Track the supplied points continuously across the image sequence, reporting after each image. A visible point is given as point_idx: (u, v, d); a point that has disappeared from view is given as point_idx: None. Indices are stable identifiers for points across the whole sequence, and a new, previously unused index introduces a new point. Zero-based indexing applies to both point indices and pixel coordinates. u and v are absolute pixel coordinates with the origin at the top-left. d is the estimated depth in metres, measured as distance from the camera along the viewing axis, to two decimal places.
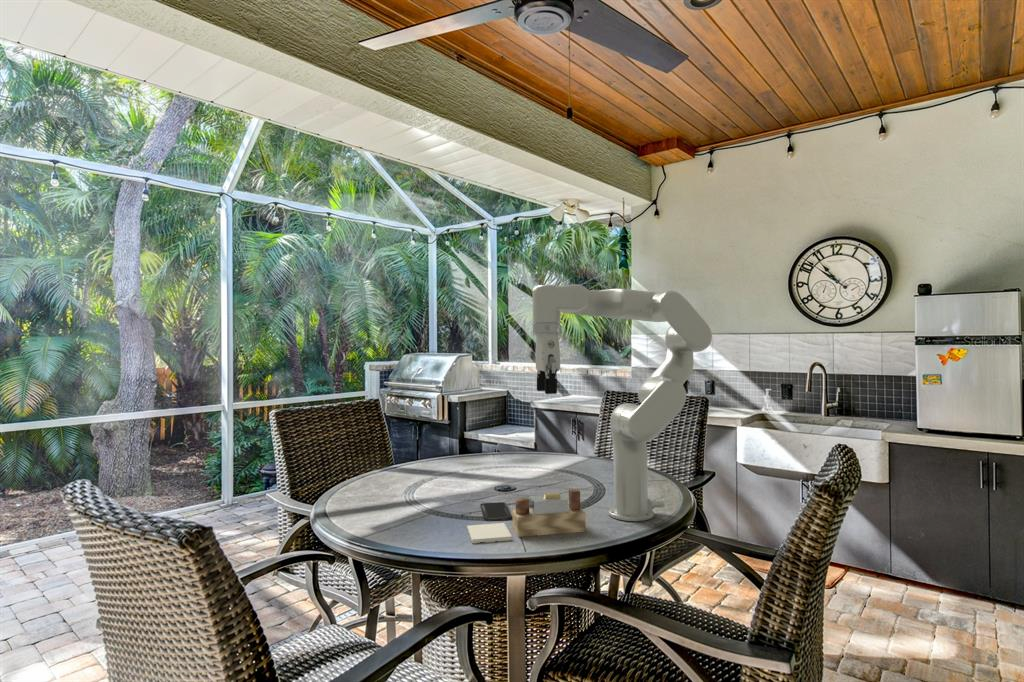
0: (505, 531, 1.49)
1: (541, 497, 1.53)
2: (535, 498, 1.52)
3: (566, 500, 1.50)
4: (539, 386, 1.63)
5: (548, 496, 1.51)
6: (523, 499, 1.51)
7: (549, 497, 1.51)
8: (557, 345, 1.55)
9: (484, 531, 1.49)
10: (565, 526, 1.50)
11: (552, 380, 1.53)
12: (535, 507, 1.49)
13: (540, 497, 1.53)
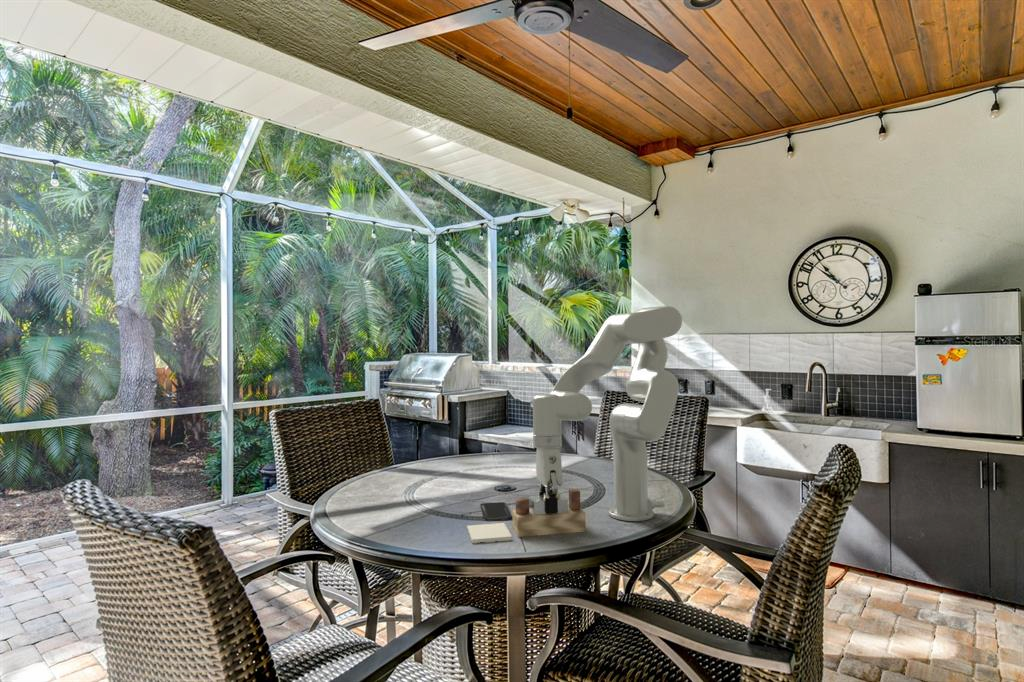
0: (505, 531, 1.49)
1: (541, 497, 1.53)
2: (535, 498, 1.52)
3: (566, 500, 1.50)
4: None
5: None
6: (523, 499, 1.51)
7: None
8: (559, 460, 1.48)
9: (484, 531, 1.49)
10: (565, 526, 1.50)
11: (552, 500, 1.48)
12: (535, 507, 1.49)
13: (540, 497, 1.53)
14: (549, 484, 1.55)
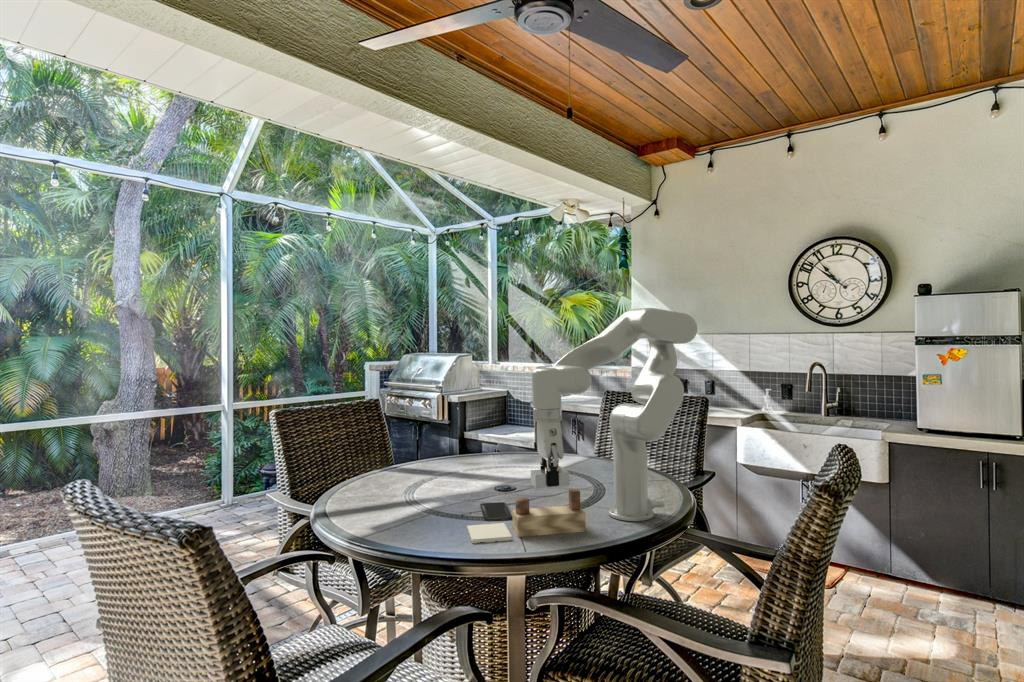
0: (505, 531, 1.49)
1: (542, 471, 1.53)
2: (536, 472, 1.52)
3: (567, 473, 1.51)
4: None
5: None
6: (523, 499, 1.51)
7: None
8: (559, 433, 1.48)
9: (484, 531, 1.49)
10: (565, 526, 1.50)
11: (554, 472, 1.49)
12: (536, 480, 1.49)
13: (541, 471, 1.53)
14: (550, 458, 1.55)
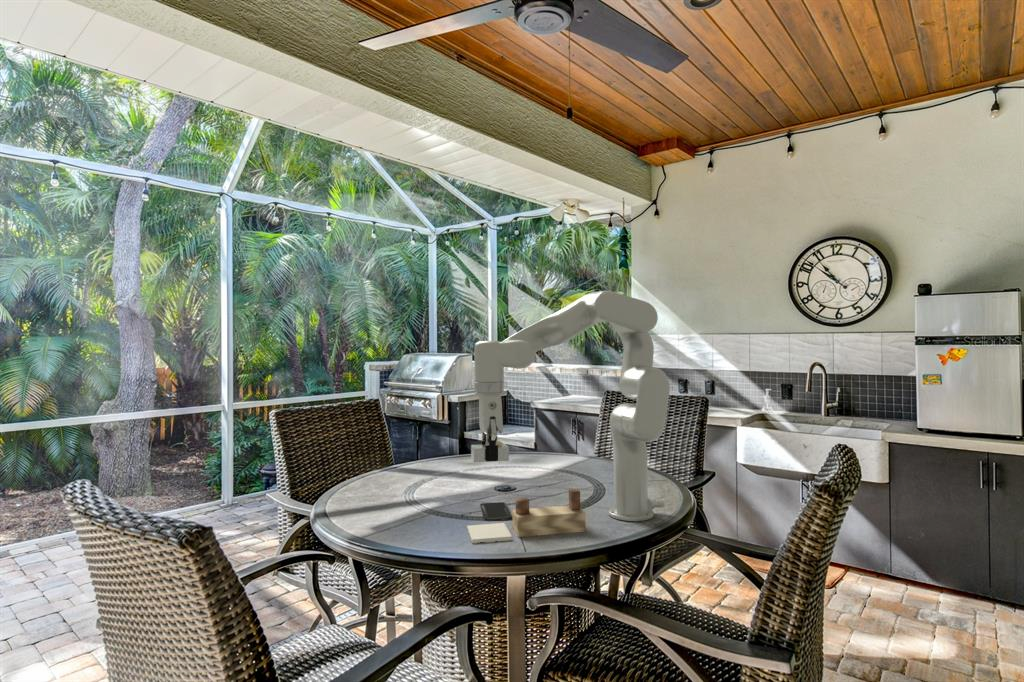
0: (505, 531, 1.49)
1: (482, 445, 1.50)
2: (476, 446, 1.49)
3: (507, 448, 1.47)
4: None
5: None
6: (523, 499, 1.51)
7: None
8: (499, 406, 1.45)
9: (484, 531, 1.49)
10: (565, 526, 1.50)
11: (492, 447, 1.45)
12: (475, 454, 1.46)
13: (481, 445, 1.50)
14: None
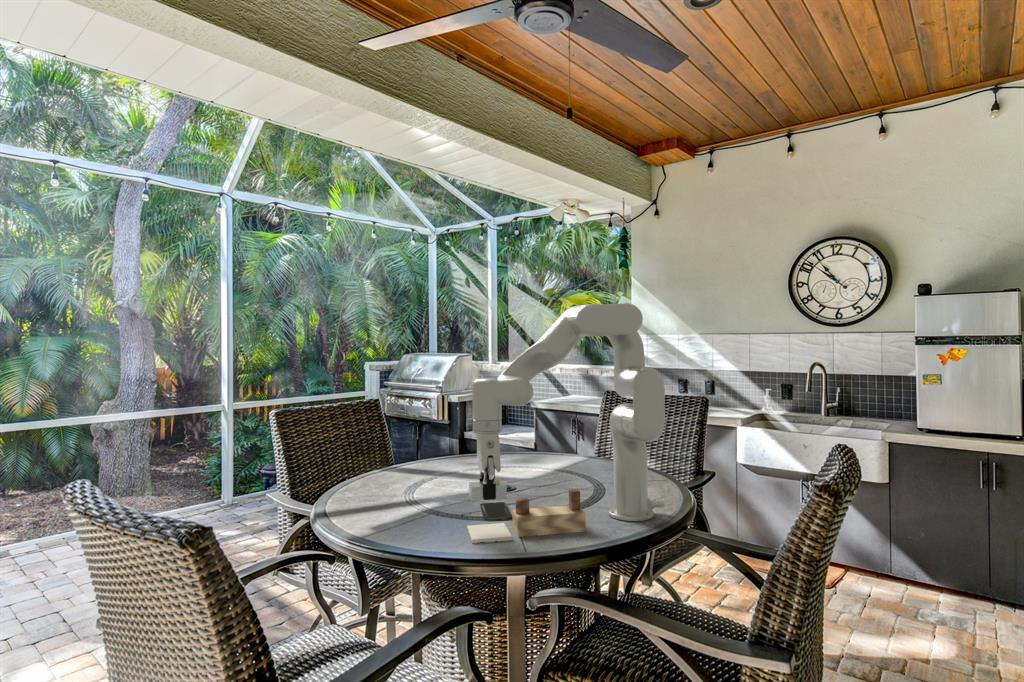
0: (505, 531, 1.49)
1: (480, 483, 1.49)
2: (474, 484, 1.49)
3: (505, 486, 1.47)
4: None
5: None
6: (523, 499, 1.51)
7: None
8: (497, 445, 1.45)
9: (484, 531, 1.49)
10: (565, 526, 1.50)
11: (490, 486, 1.45)
12: (472, 493, 1.46)
13: (479, 483, 1.49)
14: None
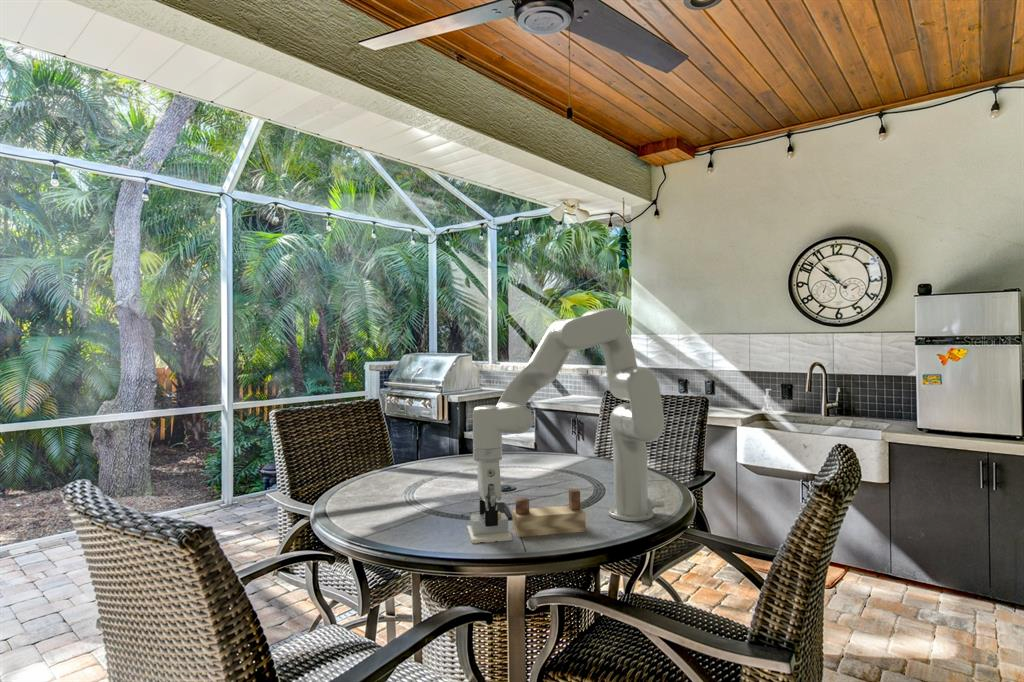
0: None
1: (482, 516, 1.50)
2: (475, 518, 1.49)
3: (506, 520, 1.47)
4: (482, 510, 1.53)
5: None
6: (523, 499, 1.51)
7: None
8: (498, 473, 1.45)
9: None
10: (565, 526, 1.50)
11: (492, 512, 1.44)
12: (474, 527, 1.46)
13: (481, 516, 1.50)
14: None
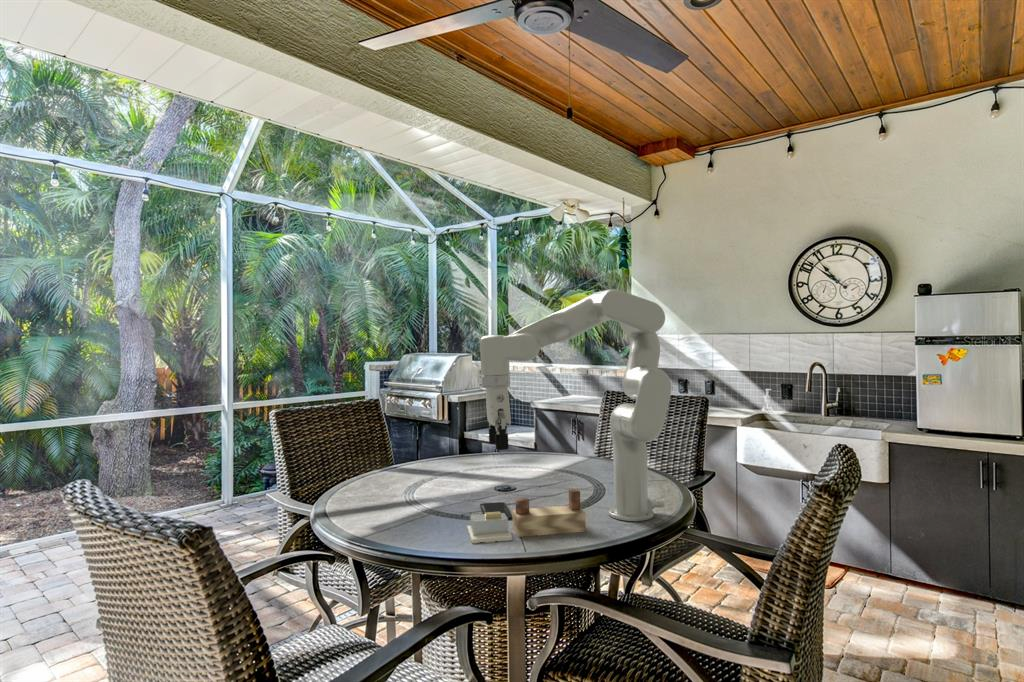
0: None
1: (482, 516, 1.50)
2: (475, 518, 1.49)
3: (506, 520, 1.47)
4: (491, 438, 1.57)
5: (488, 516, 1.48)
6: (523, 499, 1.51)
7: (489, 517, 1.48)
8: (507, 398, 1.49)
9: None
10: (565, 526, 1.50)
11: (503, 436, 1.47)
12: (474, 527, 1.46)
13: (481, 516, 1.50)
14: None
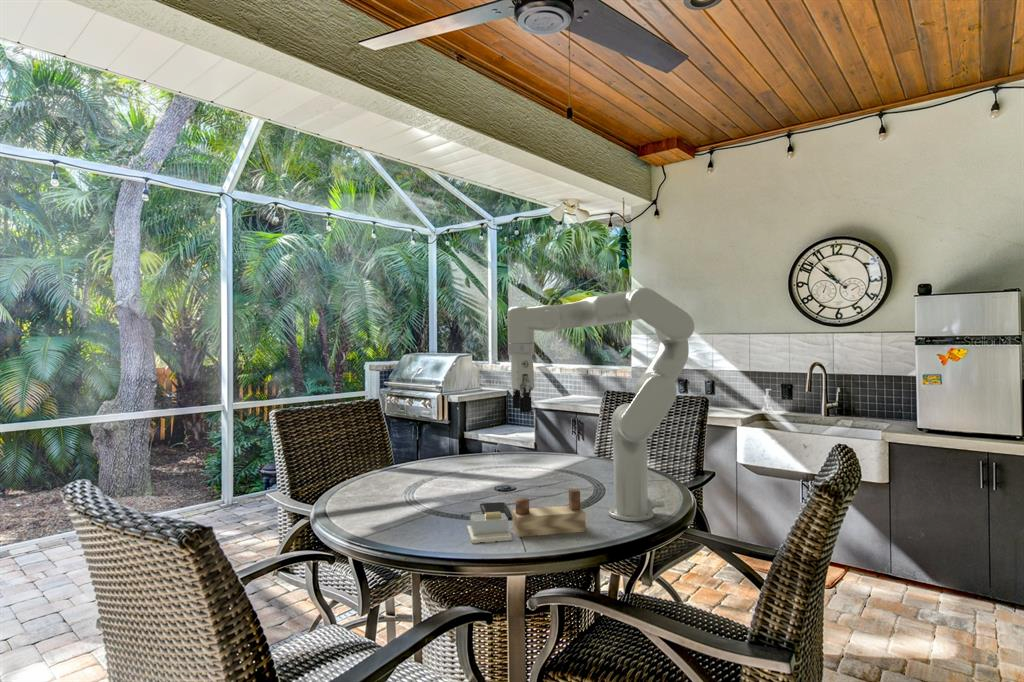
0: None
1: (482, 516, 1.50)
2: (475, 518, 1.49)
3: (506, 520, 1.47)
4: (515, 404, 1.69)
5: (488, 516, 1.48)
6: (523, 499, 1.51)
7: (489, 517, 1.48)
8: (531, 365, 1.60)
9: None
10: (565, 526, 1.50)
11: (526, 399, 1.59)
12: (474, 527, 1.46)
13: (481, 516, 1.50)
14: None
